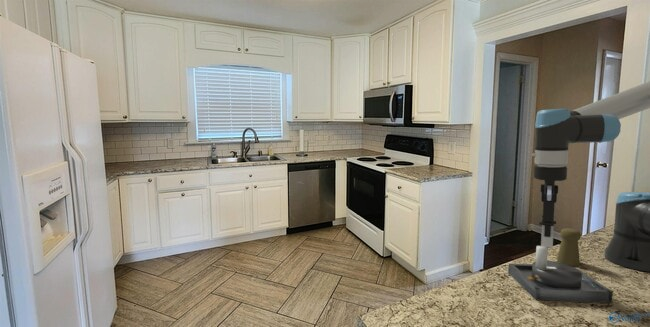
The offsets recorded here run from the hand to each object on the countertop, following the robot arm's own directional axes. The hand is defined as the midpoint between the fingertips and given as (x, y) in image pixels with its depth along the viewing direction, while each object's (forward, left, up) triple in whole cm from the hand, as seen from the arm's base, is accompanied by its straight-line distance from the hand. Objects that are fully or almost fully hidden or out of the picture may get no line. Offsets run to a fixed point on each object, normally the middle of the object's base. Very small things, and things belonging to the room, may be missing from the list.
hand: (546, 246), depth 90 cm
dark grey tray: (-1, +4, -10) cm, 11 cm away
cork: (-15, -13, -10) cm, 22 cm away
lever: (-1, +4, -8) cm, 9 cm away
